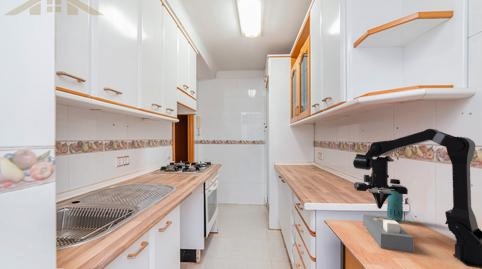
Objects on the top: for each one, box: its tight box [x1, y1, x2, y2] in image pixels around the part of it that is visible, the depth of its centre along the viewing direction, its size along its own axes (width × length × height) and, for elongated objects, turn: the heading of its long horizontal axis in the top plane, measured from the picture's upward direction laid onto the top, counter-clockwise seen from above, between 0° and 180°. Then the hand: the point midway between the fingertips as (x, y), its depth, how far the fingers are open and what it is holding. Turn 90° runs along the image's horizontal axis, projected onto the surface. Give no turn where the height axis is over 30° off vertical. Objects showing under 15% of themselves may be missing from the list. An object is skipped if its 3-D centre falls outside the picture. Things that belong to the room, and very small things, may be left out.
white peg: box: [383, 219, 401, 233], centre depth 83 cm, size 4×4×5 cm
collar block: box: [362, 214, 415, 253], centre depth 88 cm, size 10×22×5 cm, turn 166°
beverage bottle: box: [386, 178, 404, 221], centre depth 108 cm, size 6×7×20 cm
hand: (379, 208), depth 95 cm, fingers closed
